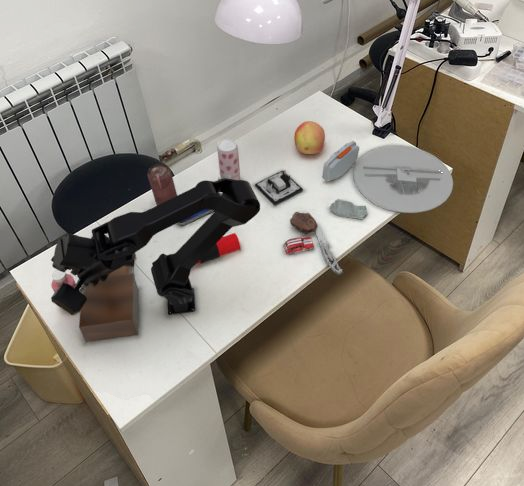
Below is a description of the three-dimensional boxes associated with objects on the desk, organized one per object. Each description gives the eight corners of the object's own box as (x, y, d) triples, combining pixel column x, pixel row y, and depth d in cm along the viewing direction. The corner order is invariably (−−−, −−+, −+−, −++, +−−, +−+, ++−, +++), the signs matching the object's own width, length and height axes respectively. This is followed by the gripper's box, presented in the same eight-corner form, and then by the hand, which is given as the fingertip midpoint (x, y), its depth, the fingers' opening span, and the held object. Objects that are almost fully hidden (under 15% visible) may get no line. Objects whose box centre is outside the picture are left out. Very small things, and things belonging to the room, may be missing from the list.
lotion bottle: (82, 310, 132) (68, 282, 123) (60, 313, 131) (45, 285, 123) (83, 293, 135) (71, 264, 127) (63, 295, 135) (48, 267, 126)
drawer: (95, 256, 142) (90, 245, 138) (136, 251, 143) (132, 239, 139) (91, 298, 133) (86, 286, 129) (135, 292, 134) (131, 280, 130)
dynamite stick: (241, 253, 142) (166, 280, 137) (235, 242, 145) (161, 268, 140) (239, 239, 139) (162, 265, 134) (233, 228, 142) (157, 253, 138)
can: (160, 219, 151) (148, 180, 142) (157, 204, 156) (145, 165, 146) (181, 213, 152) (171, 175, 142) (178, 198, 156) (168, 160, 147)
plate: (448, 149, 168) (449, 146, 167) (456, 217, 148) (457, 214, 148) (355, 142, 172) (355, 139, 171) (351, 208, 152) (351, 205, 151)
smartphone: (228, 203, 154) (179, 225, 148) (228, 205, 154) (179, 227, 149) (215, 187, 158) (167, 208, 153) (215, 189, 159) (168, 210, 153)
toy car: (314, 249, 143) (316, 242, 140) (285, 256, 141) (285, 249, 139) (310, 238, 145) (311, 231, 142) (281, 245, 143) (281, 238, 141)
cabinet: (90, 296, 134) (83, 280, 130) (138, 289, 135) (133, 273, 131) (86, 342, 125) (78, 327, 121) (138, 335, 126) (132, 319, 122)
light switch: (254, 185, 160) (274, 205, 154) (253, 175, 157) (274, 195, 151) (282, 171, 164) (303, 190, 158) (282, 161, 161) (303, 180, 155)
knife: (321, 219, 148) (310, 221, 147) (343, 271, 136) (332, 273, 135) (320, 223, 149) (310, 225, 148) (342, 275, 137) (331, 277, 136)
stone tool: (332, 198, 154) (327, 214, 152) (332, 196, 152) (327, 212, 151) (369, 208, 152) (364, 224, 150) (369, 205, 150) (365, 221, 148)
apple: (284, 142, 164) (291, 121, 170) (300, 164, 169) (307, 142, 175) (312, 133, 159) (318, 111, 165) (328, 156, 164) (333, 134, 170)
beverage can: (244, 184, 160) (241, 145, 149) (229, 194, 158) (225, 154, 147) (232, 174, 163) (229, 135, 153) (217, 183, 161) (212, 143, 150)
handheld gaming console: (351, 157, 167) (353, 136, 161) (359, 161, 165) (361, 141, 160) (320, 182, 160) (322, 161, 154) (328, 187, 158) (330, 166, 152)
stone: (298, 215, 151) (296, 207, 149) (323, 220, 148) (321, 212, 146) (288, 232, 147) (286, 224, 145) (313, 238, 144) (311, 229, 142)
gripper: (93, 206, 119) (63, 230, 129) (45, 275, 106) (15, 295, 117) (133, 238, 123) (101, 258, 133) (91, 307, 110) (59, 323, 121)
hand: (70, 281), depth 126 cm, fingers open, 9 cm apart
